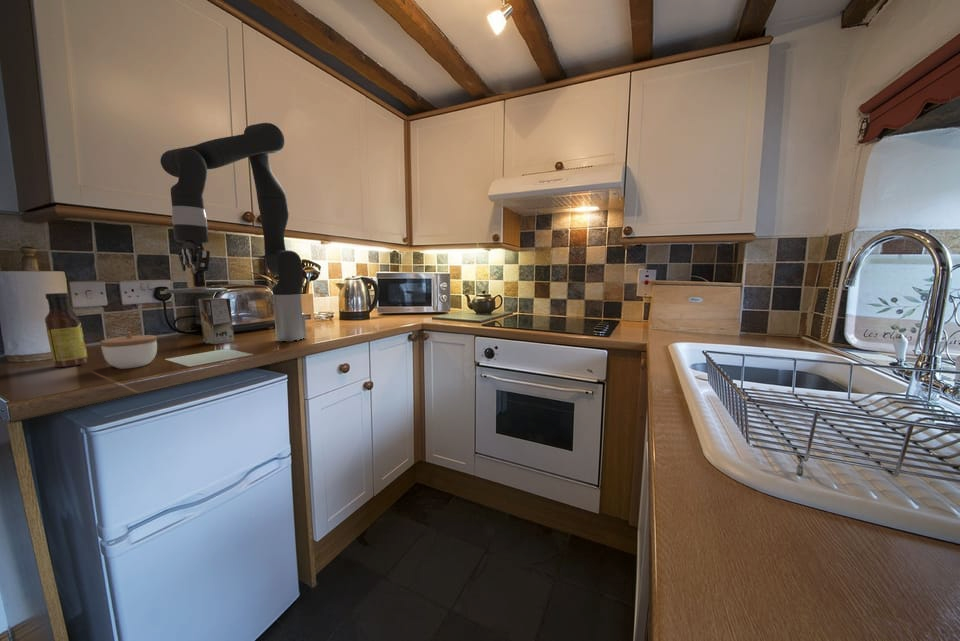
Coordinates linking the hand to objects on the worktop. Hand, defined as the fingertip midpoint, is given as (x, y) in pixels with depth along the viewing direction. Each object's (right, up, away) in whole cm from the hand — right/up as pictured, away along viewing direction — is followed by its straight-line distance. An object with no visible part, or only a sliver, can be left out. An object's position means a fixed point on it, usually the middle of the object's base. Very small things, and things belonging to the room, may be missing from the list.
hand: (197, 286), depth 100 cm
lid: (0, -2, 0) cm, 2 cm away
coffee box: (-14, -18, +27) cm, 36 cm away
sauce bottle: (-31, -22, -4) cm, 39 cm away
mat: (+1, -21, +4) cm, 21 cm away
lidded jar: (-13, -23, -6) cm, 26 cm away
